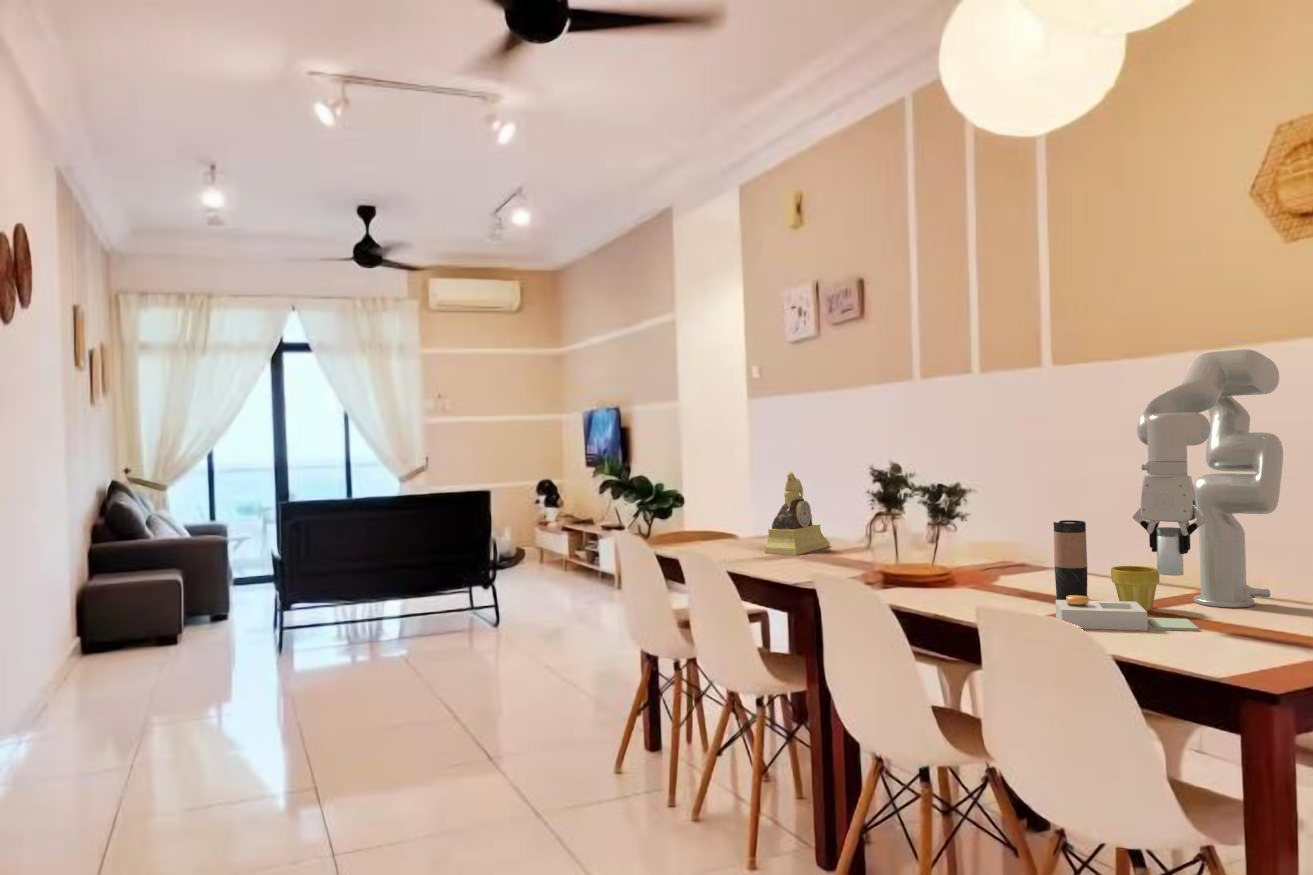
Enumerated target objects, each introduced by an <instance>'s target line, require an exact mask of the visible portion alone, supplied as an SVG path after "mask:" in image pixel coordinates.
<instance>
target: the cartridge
mask: <svg viewBox="0 0 1313 875" xmlns="http://www.w3.org/2000/svg"><path fill="white" fill-rule="evenodd" d="M1181 533H1182V532H1181V529H1180V527H1173V526H1172V527H1171V526H1166V527H1165V526H1163V527H1159V526H1158V528H1156V537H1157V552H1156V565H1157V566H1156V568H1157V573H1158V574H1159V576H1160V575H1162V576H1184V554H1181V553H1180V546H1179V536H1180V535H1181Z"/></svg>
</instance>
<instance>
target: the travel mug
mask: <svg viewBox="0 0 1313 875" xmlns="http://www.w3.org/2000/svg"><path fill="white" fill-rule="evenodd" d="M1086 525H1087V523H1086V521H1084V520H1074V519H1072V520H1071V519H1068V520H1067V519H1062V520H1059V521H1058V522H1056V521H1053V552H1054V554H1053V558H1054V560H1053V561H1054V562H1053V563H1054V565H1053V566H1054V578H1055V580H1054V581H1055V592H1056V600H1066V596H1070V595H1080V596H1087V597H1088V554H1087V553H1088V552H1087V548H1088V547H1087V529H1086V528H1087V526H1086Z"/></svg>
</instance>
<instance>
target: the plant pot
mask: <svg viewBox="0 0 1313 875" xmlns="http://www.w3.org/2000/svg"><path fill="white" fill-rule="evenodd" d="M1110 576H1111V577H1110V578H1111V582H1112V583H1113V584H1114V586H1115V589H1116V593H1117V598H1118V601H1130V602H1137V603H1138V604H1139V605H1140V606H1141V607H1142V608H1144V609H1145V610H1146V611H1147V612H1149V611H1152V610H1153V607H1154V601H1155V598H1156V597H1155V596H1156V590H1157V585H1158V584H1160V574H1158V573H1157V567H1153V566H1144V565H1143V566H1142V565H1141V566H1140V565H1119V566H1114V567H1113V566H1112V567H1111V568H1110Z"/></svg>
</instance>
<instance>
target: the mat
mask: <svg viewBox="0 0 1313 875" xmlns="http://www.w3.org/2000/svg"><path fill="white" fill-rule="evenodd" d="M1147 622H1149V624H1150V625H1152V626H1153V627H1154V628H1155V629H1156V630H1157V631H1181V632H1183V631H1185V632H1187V631H1189V632H1199V631H1200V628H1199V627H1198V626H1197V625H1195V624H1194V622H1192V621H1191V620H1189V619H1188V618H1177V617H1176V618H1173V617H1172V618H1171V617H1147Z"/></svg>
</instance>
